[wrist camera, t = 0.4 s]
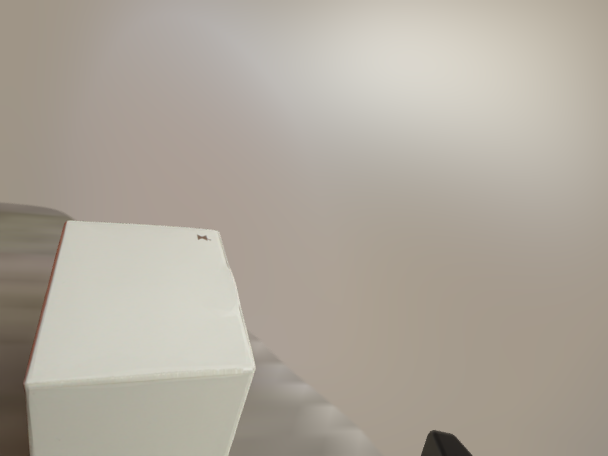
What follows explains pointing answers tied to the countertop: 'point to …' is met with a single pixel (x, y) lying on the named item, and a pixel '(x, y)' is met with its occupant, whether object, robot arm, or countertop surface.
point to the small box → (138, 345)
